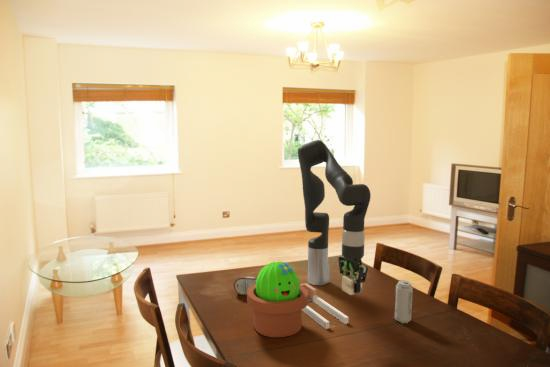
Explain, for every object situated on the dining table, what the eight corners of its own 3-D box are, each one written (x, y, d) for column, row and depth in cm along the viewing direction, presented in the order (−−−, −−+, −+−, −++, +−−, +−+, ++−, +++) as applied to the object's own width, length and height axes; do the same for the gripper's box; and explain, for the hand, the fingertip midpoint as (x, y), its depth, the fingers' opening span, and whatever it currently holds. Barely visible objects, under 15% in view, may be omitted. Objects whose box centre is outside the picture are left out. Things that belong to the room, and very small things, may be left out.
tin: (268, 294, 188) (268, 275, 187) (267, 297, 185) (267, 278, 184) (234, 292, 190) (234, 274, 189) (233, 295, 187) (233, 276, 186)
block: (353, 287, 153) (353, 273, 152) (362, 292, 148) (362, 278, 148) (341, 289, 150) (342, 276, 150) (350, 295, 146) (350, 280, 145)
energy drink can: (396, 315, 168) (398, 278, 165) (412, 319, 165) (414, 281, 163) (392, 322, 162) (394, 283, 160) (409, 325, 159) (411, 286, 157)
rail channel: (306, 294, 188) (306, 283, 188) (348, 323, 161) (348, 310, 160) (286, 298, 184) (286, 286, 183) (325, 329, 156) (326, 316, 156)
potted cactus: (240, 318, 165) (239, 255, 161) (293, 310, 172) (293, 249, 169) (258, 346, 144) (258, 274, 141) (317, 335, 152) (318, 267, 149)
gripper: (375, 246, 142) (373, 295, 145) (349, 236, 155) (348, 281, 157) (357, 249, 139) (355, 299, 141) (332, 238, 151) (331, 284, 154)
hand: (351, 289), depth 149 cm, fingers closed on block, 5 cm apart
